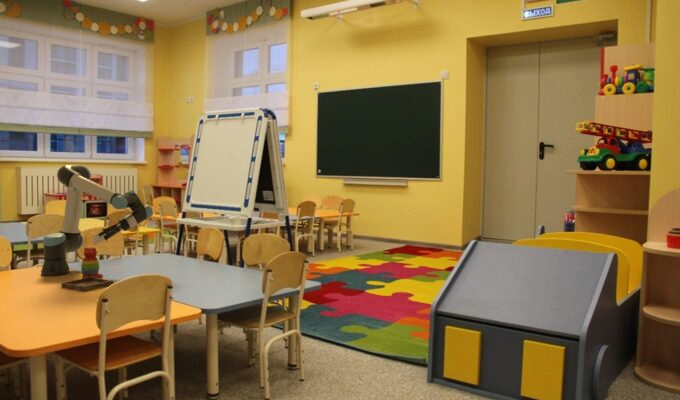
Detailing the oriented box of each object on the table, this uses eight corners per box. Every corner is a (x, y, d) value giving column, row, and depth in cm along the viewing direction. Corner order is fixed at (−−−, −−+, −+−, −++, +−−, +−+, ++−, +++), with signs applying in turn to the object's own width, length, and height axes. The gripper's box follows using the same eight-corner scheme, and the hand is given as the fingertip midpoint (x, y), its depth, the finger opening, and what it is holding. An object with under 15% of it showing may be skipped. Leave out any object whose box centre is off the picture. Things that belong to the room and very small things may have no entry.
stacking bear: (104, 276, 321) (104, 246, 320) (95, 280, 311) (94, 249, 310) (86, 276, 322) (86, 245, 321) (76, 279, 312) (76, 248, 311)
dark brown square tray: (61, 287, 292) (61, 283, 292) (90, 281, 308) (90, 276, 308) (84, 291, 284) (84, 286, 284) (113, 284, 300) (113, 280, 300)
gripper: (131, 222, 317) (96, 242, 307) (129, 232, 339) (97, 250, 329) (124, 212, 317) (89, 231, 307) (123, 222, 339) (90, 240, 329)
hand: (93, 241), depth 318 cm, fingers open, 13 cm apart
